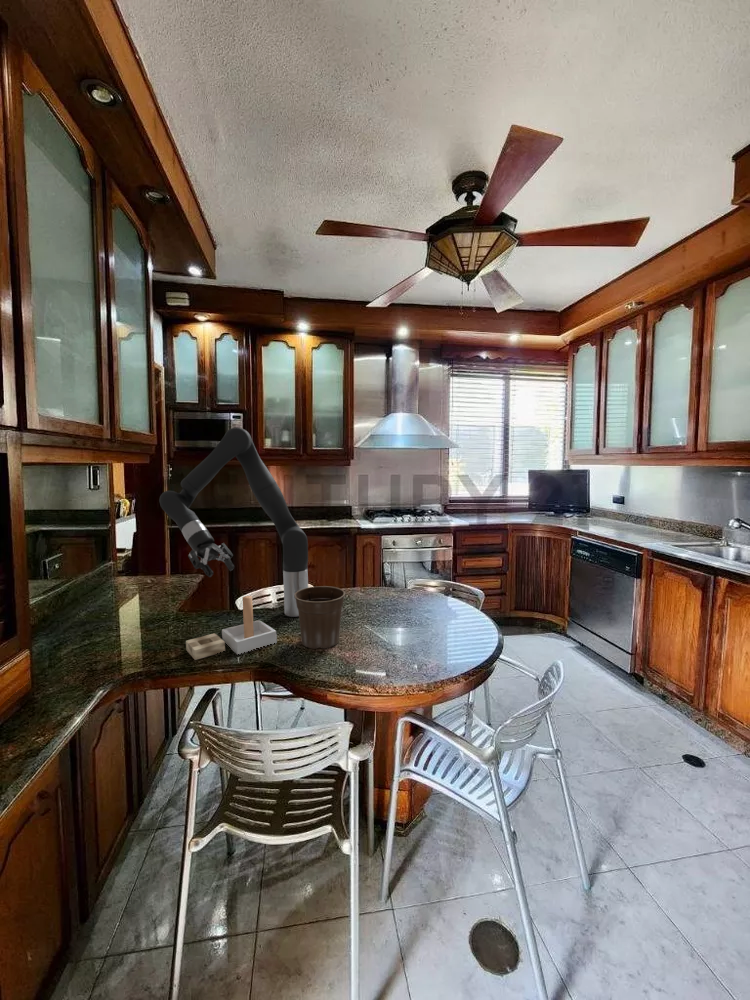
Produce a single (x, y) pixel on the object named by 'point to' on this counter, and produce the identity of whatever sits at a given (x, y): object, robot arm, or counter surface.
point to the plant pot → (319, 615)
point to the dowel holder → (205, 646)
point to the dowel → (248, 617)
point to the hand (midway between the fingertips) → (222, 572)
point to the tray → (261, 637)
